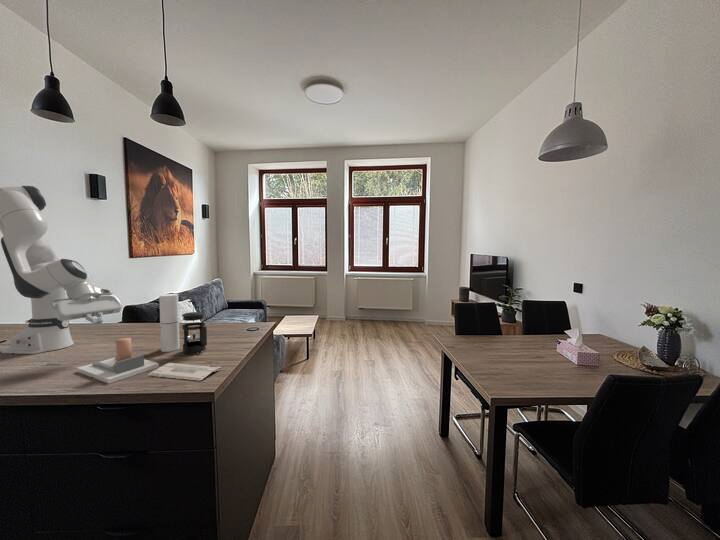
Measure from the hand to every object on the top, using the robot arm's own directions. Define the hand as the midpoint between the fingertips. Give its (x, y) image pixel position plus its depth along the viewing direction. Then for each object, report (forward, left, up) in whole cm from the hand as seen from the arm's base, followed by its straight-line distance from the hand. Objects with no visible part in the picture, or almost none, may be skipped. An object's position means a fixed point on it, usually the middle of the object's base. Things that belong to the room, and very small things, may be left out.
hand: (98, 323), depth 116 cm
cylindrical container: (+20, +13, -16) cm, 29 cm away
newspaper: (+38, -15, -17) cm, 44 cm away
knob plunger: (+15, -12, -14) cm, 24 cm away
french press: (+32, +9, -16) cm, 37 cm away
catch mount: (+12, -9, -16) cm, 22 cm away
